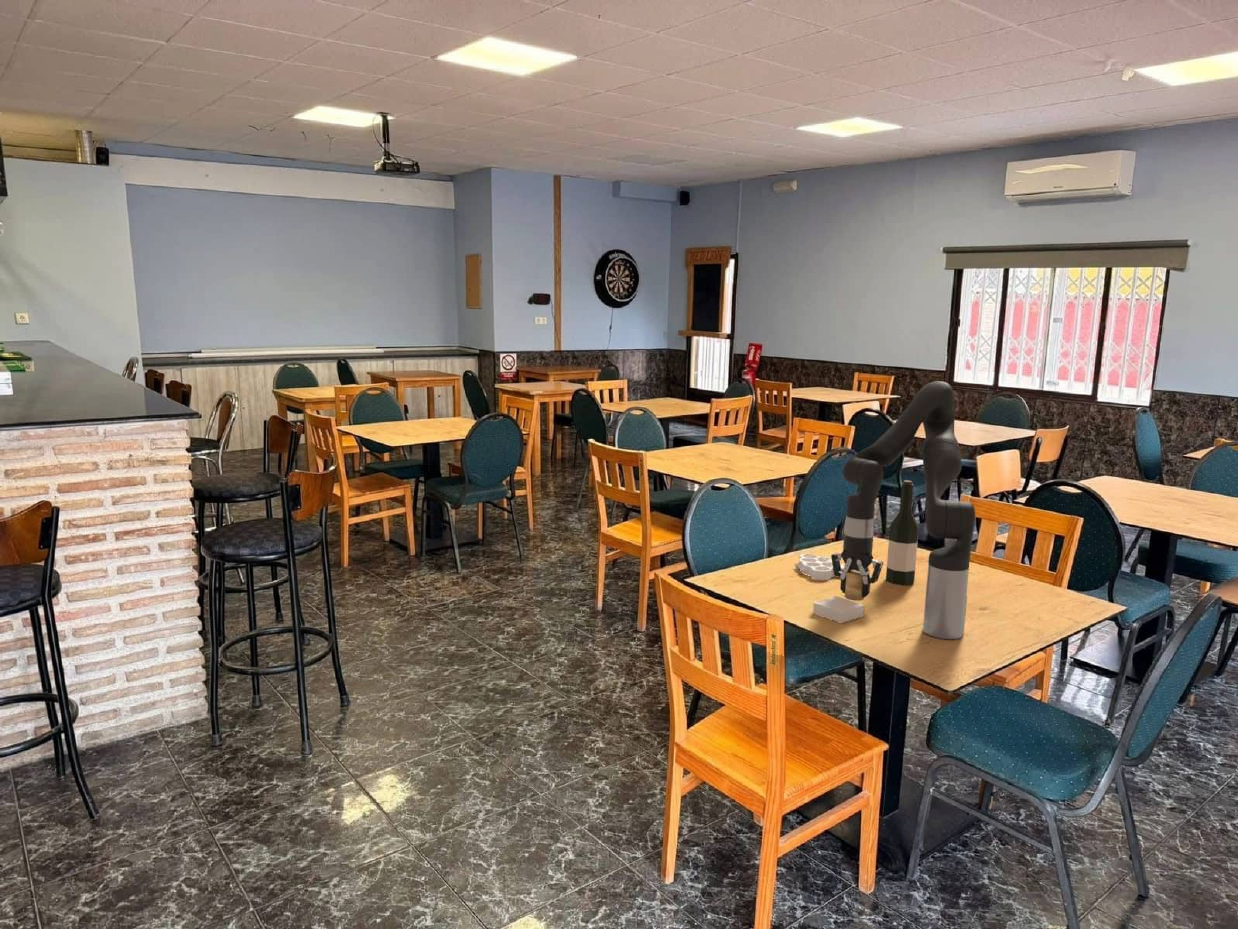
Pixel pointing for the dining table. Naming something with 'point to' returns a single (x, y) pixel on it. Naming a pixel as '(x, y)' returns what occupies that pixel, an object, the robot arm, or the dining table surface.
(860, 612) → the white base
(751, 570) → the dining table surface
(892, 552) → the wine bottle
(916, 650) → the dining table surface
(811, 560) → the white holed flat part
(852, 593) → the ochre cylinder
